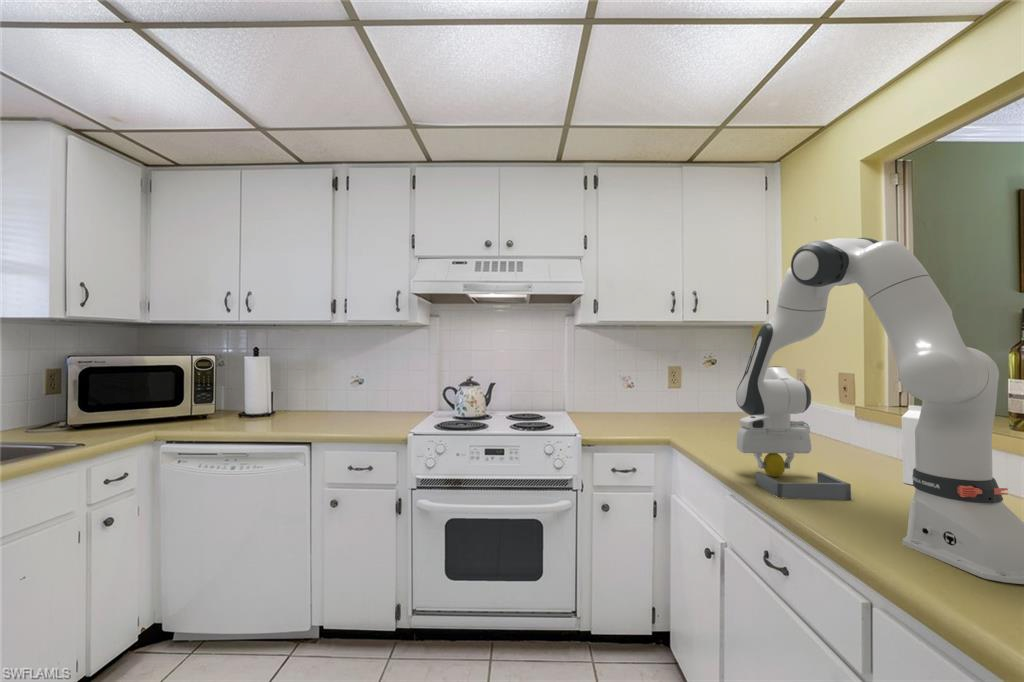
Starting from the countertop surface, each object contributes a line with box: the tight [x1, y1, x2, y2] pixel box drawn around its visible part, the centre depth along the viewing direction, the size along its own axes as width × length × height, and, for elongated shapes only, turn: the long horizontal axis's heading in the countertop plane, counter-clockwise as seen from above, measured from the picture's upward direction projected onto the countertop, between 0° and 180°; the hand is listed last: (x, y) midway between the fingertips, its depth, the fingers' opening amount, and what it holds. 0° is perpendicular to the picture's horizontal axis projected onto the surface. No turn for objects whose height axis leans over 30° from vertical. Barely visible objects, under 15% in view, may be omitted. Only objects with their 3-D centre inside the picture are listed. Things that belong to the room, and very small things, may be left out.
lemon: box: [763, 453, 786, 478], centre depth 140 cm, size 6×6×8 cm
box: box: [755, 471, 852, 501], centre depth 126 cm, size 12×18×4 cm, turn 87°
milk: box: [901, 404, 922, 486], centre depth 133 cm, size 6×6×22 cm
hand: (774, 468), depth 140 cm, fingers closed on lemon, 5 cm apart
